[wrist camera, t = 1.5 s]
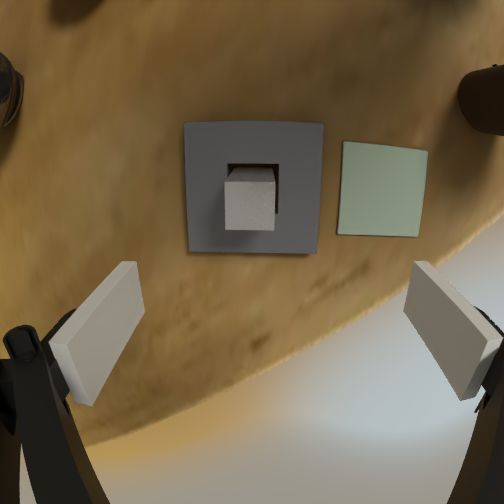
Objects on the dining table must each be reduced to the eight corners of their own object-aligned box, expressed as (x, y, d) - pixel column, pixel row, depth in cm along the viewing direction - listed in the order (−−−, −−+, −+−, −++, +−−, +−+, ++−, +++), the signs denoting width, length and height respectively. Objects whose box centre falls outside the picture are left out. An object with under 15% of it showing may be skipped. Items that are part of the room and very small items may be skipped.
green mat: (342, 141, 37) (343, 141, 37) (426, 150, 37) (427, 151, 36) (337, 232, 42) (337, 234, 41) (416, 235, 41) (418, 236, 41)
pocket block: (189, 122, 37) (184, 122, 35) (319, 123, 37) (323, 123, 34) (193, 244, 43) (189, 251, 40) (313, 246, 42) (316, 253, 40)
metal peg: (235, 167, 39) (224, 181, 28) (272, 167, 39) (275, 182, 28) (235, 202, 41) (225, 229, 30) (271, 202, 40) (274, 230, 30)
